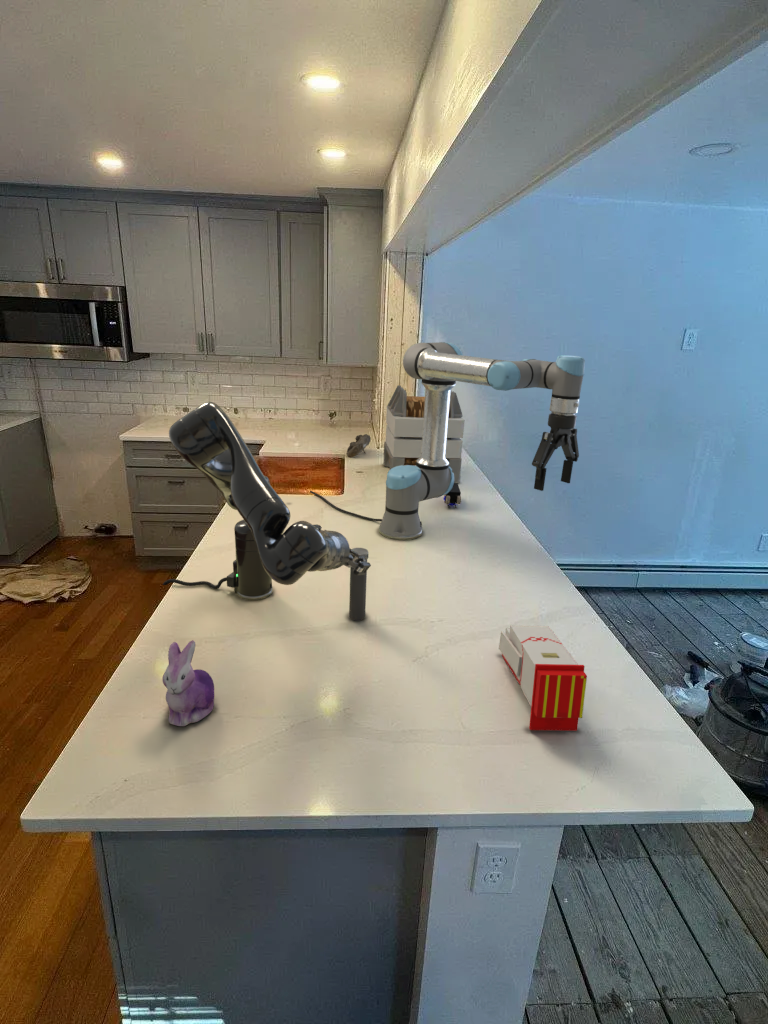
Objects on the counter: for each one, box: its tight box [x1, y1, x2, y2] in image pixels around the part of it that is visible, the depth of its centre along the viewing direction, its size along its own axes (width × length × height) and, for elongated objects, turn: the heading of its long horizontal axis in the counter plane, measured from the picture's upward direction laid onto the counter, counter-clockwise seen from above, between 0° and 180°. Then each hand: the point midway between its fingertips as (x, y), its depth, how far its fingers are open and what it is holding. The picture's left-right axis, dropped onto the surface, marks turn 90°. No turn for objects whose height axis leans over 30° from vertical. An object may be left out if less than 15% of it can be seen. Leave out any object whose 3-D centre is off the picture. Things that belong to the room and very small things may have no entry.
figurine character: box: [442, 483, 462, 509], centre depth 232 cm, size 7×8×15 cm
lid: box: [350, 547, 369, 561], centre depth 139 cm, size 5×5×2 cm
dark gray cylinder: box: [348, 559, 368, 622], centre depth 142 cm, size 4×4×18 cm
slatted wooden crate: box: [383, 384, 465, 484], centre depth 268 cm, size 34×33×41 cm
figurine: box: [161, 640, 215, 727], centre depth 107 cm, size 9×10×15 cm
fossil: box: [346, 433, 372, 458], centre depth 305 cm, size 22×10×15 cm
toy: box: [498, 624, 588, 732], centre depth 119 cm, size 12×13×30 cm
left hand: (346, 548), depth 122 cm, fingers open, 8 cm apart
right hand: (552, 485), depth 166 cm, fingers open, 13 cm apart
